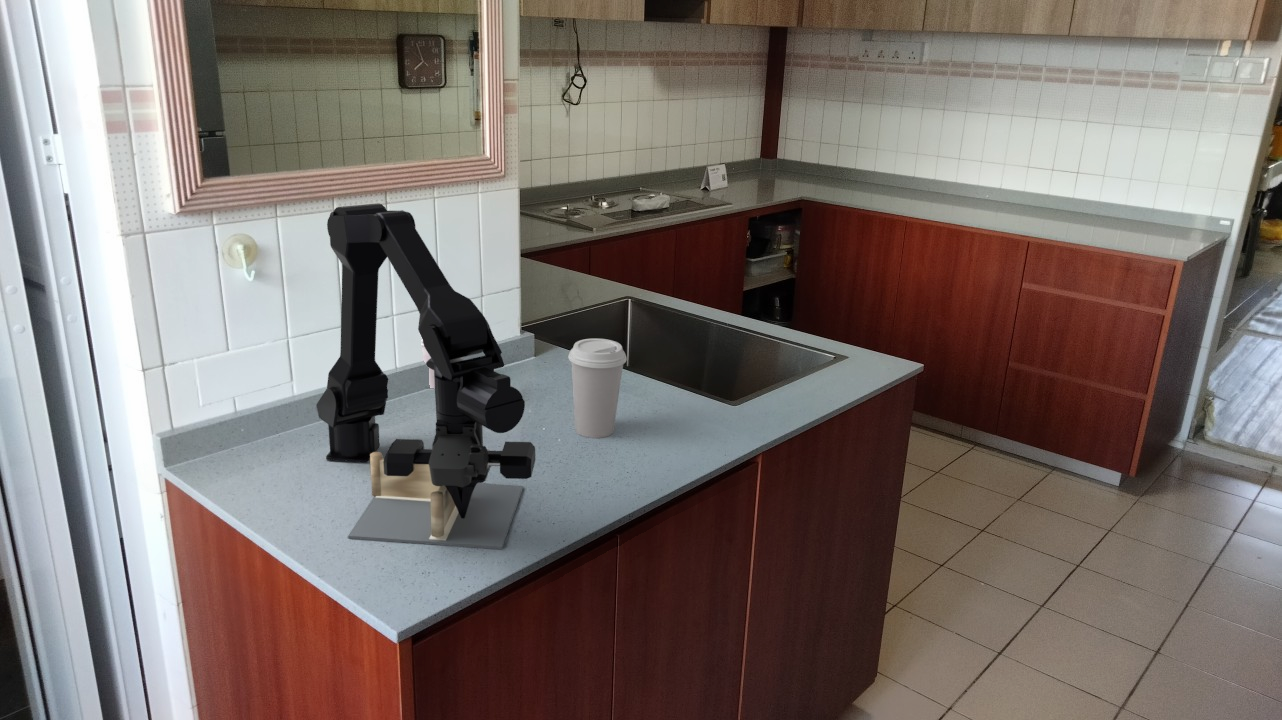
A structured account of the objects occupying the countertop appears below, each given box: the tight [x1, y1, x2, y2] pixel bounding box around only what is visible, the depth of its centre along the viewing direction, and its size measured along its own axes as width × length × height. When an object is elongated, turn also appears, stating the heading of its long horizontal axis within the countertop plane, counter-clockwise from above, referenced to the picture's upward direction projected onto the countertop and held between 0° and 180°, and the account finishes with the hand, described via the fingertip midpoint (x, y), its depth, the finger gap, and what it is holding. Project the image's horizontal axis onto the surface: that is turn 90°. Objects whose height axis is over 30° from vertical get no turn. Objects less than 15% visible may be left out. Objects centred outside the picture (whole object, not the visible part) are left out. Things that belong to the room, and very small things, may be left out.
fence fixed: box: [369, 451, 440, 499], centre depth 130 cm, size 13×2×7 cm, turn 88°
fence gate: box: [430, 485, 455, 537], centre depth 124 cm, size 10×2×6 cm, turn 177°
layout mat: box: [347, 482, 524, 550], centre depth 129 cm, size 20×17×1 cm
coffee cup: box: [568, 338, 628, 439], centre depth 155 cm, size 10×10×15 cm
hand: (463, 517), depth 123 cm, fingers closed
